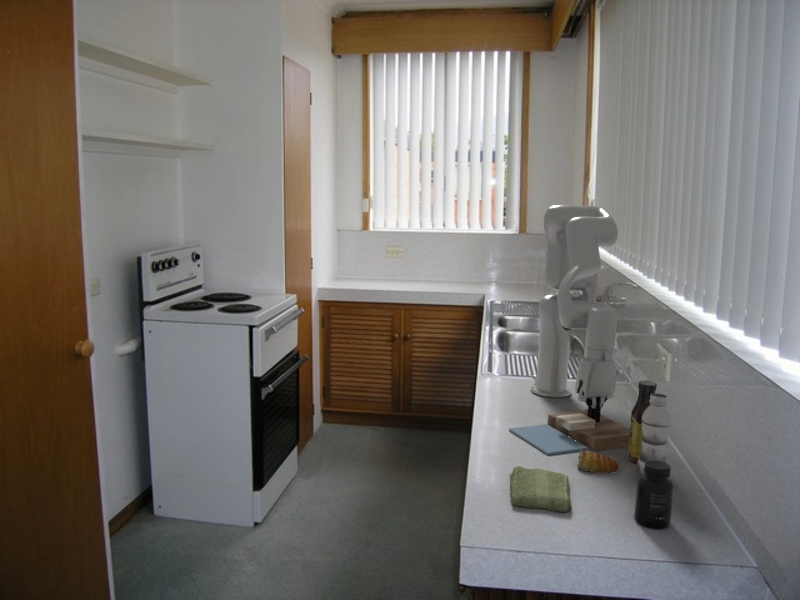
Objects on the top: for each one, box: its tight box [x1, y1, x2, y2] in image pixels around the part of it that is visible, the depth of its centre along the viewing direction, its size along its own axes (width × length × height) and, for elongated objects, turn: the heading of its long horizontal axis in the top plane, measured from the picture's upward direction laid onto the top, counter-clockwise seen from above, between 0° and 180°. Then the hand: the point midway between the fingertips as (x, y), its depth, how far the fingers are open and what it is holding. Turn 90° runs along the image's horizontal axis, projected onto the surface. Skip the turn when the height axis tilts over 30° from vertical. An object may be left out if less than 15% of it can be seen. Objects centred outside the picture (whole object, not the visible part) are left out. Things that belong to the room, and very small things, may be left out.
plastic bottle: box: [635, 392, 673, 478], centre depth 159 cm, size 6×7×20 cm
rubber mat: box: [508, 423, 589, 456], centre depth 184 cm, size 18×12×1 cm, turn 23°
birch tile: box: [556, 413, 595, 431], centre depth 187 cm, size 6×8×2 cm
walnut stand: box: [547, 409, 630, 452], centre depth 189 cm, size 20×14×3 cm
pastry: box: [576, 450, 619, 474], centre depth 167 cm, size 9×7×4 cm
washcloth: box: [509, 465, 572, 513], centre depth 152 cm, size 13×18×3 cm
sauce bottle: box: [627, 379, 658, 464], centre depth 170 cm, size 6×6×20 cm
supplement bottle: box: [633, 460, 675, 530], centre depth 140 cm, size 7×7×12 cm
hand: (593, 420), depth 189 cm, fingers closed
